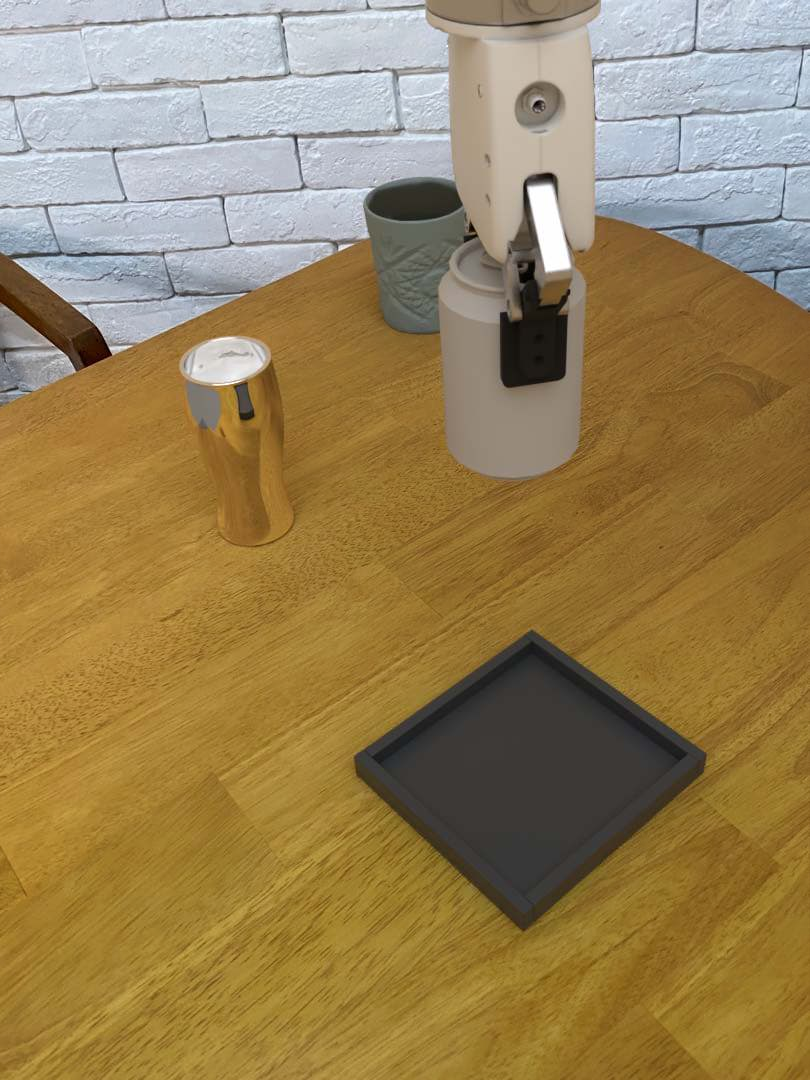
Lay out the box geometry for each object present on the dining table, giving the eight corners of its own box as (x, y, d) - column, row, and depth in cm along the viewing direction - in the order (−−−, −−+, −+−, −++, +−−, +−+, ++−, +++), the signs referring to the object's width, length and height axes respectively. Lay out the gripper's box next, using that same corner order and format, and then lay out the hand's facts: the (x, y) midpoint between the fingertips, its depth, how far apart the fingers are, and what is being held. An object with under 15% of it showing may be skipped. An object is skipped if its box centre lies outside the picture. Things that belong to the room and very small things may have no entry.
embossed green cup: (448, 345, 108) (444, 228, 100) (354, 327, 111) (343, 212, 103) (488, 296, 114) (487, 182, 107) (399, 280, 118) (391, 169, 110)
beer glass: (278, 557, 86) (249, 392, 76) (197, 542, 88) (158, 379, 78) (313, 501, 91) (289, 339, 81) (235, 488, 93) (203, 328, 83)
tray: (531, 647, 78) (531, 628, 76) (704, 772, 69) (707, 753, 68) (355, 774, 70) (353, 756, 69) (523, 932, 62) (523, 914, 60)
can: (558, 501, 60) (564, 301, 52) (427, 477, 63) (414, 281, 55) (593, 423, 65) (604, 230, 57) (471, 403, 68) (465, 214, 60)
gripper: (669, 26, 41) (635, 421, 53) (544, -81, 55) (539, 255, 66) (468, 51, 41) (479, 445, 52) (391, -64, 54) (413, 272, 65)
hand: (512, 337), depth 59 cm, fingers closed on can, 7 cm apart
